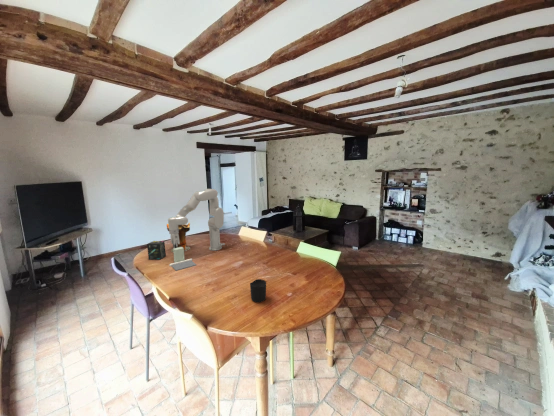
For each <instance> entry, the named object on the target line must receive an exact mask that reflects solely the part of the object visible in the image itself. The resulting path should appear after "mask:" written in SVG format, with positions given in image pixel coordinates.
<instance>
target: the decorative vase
mask: <svg viewBox="0 0 554 416" xmlns="http://www.w3.org/2000/svg"><path fill="white" fill-rule="evenodd" d="M190 225H191V223H190V222H188V223H187V224H185V225H178V229H179V233H178V235H179V241H180V244H178V243H177V245H178V247H183V248H184V252H187V251H188V250H191V247H190V246H187V239H186V236H187V233H188V232H190V230H191V226H190ZM166 230H167V231H168V232H169V224H168V223H166ZM170 252H172V253H174V252H173V248H172V249H170Z"/></svg>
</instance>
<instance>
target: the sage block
mask: <svg viewBox="0 0 554 416" xmlns="http://www.w3.org/2000/svg"><path fill="white" fill-rule="evenodd" d="M172 249H173V252H172V253H173V263H176V262H180V261H184V260H186V259H185V251H184V248H183V247H178V248H174V247H172Z"/></svg>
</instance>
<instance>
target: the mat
mask: <svg viewBox="0 0 554 416" xmlns="http://www.w3.org/2000/svg"><path fill="white" fill-rule="evenodd" d="M195 266H197V263H195V262H194V261H193V260H192V261H187V262H183V263H179V264H176V265H172V266H171V268H172V269H173V270H174V271H176V272H177V271H181V270H184V269H188V268H191V267H192V268H193V267H195Z"/></svg>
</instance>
